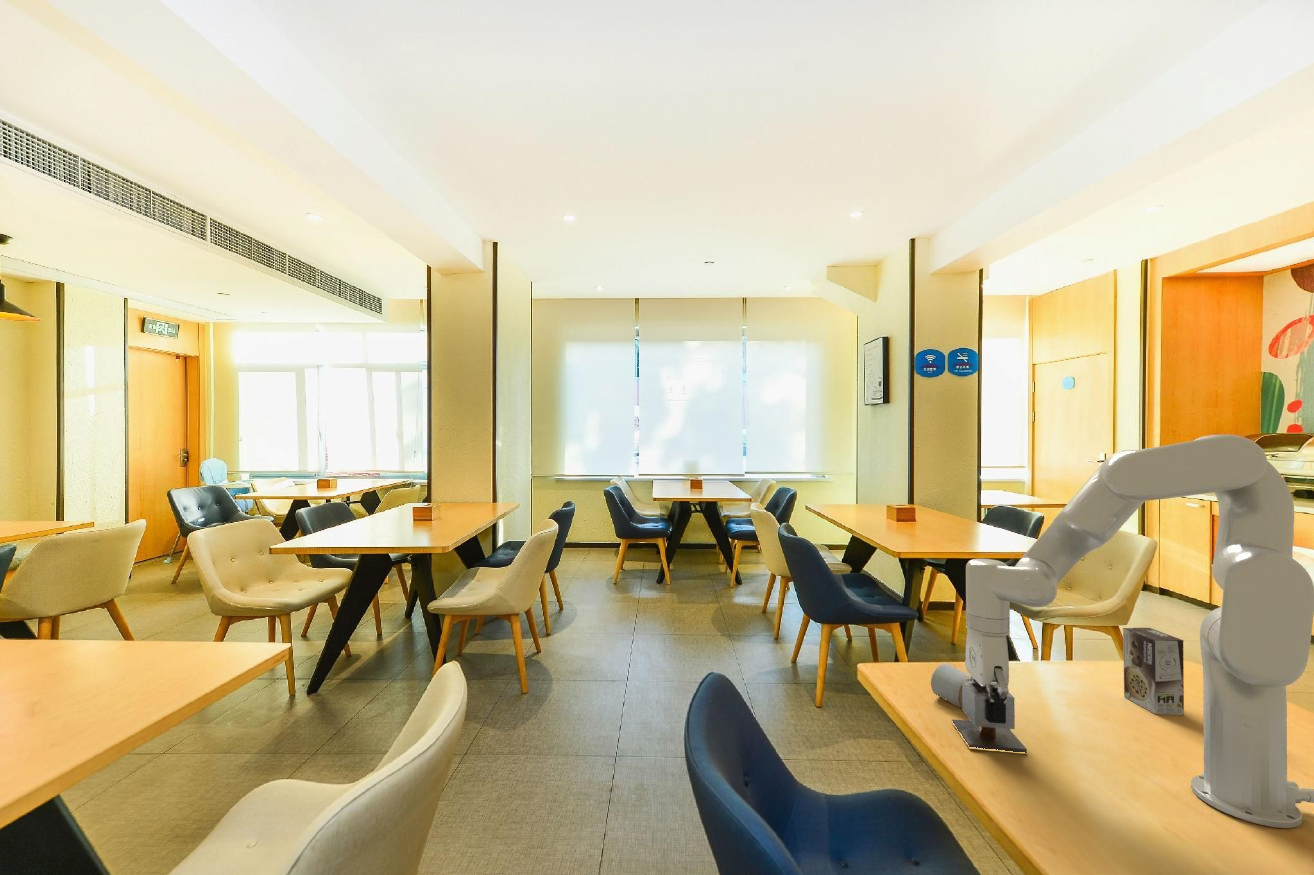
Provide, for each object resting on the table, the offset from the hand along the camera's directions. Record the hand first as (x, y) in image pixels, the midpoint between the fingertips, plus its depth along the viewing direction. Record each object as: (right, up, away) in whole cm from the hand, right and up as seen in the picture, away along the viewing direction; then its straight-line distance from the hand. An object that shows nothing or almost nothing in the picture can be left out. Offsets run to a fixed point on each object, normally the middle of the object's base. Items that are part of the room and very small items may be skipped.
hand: (988, 712), depth 114 cm
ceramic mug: (+3, -6, +16) cm, 17 cm away
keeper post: (0, -5, 0) cm, 5 cm away
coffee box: (+45, -6, +14) cm, 48 cm away
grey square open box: (0, -1, 0) cm, 1 cm away
